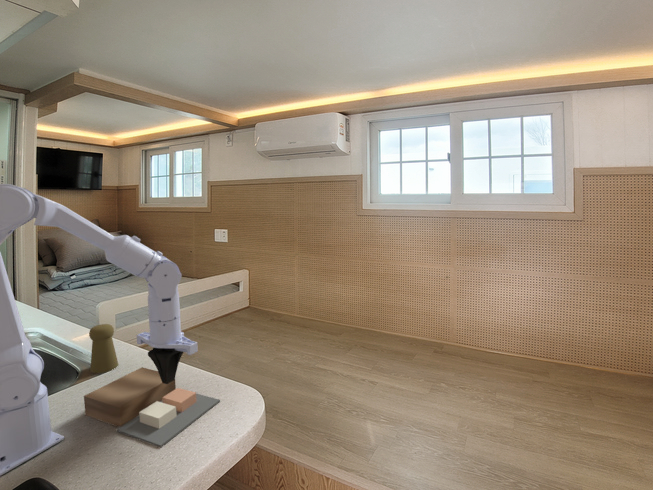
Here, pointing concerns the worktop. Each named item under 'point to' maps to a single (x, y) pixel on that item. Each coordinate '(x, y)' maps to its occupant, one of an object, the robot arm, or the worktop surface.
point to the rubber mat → (171, 428)
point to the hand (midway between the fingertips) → (168, 381)
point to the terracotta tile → (180, 399)
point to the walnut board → (126, 397)
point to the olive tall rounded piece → (102, 349)
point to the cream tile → (157, 414)
